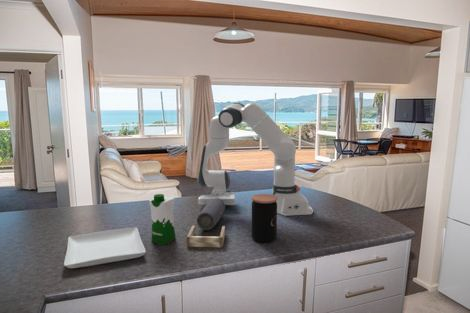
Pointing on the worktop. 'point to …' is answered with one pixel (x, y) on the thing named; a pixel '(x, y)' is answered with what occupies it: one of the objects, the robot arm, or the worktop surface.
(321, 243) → the worktop surface
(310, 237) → the worktop surface
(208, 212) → the bluetooth speaker
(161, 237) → the milk carton
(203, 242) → the birch bay
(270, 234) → the coffee jar
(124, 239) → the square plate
